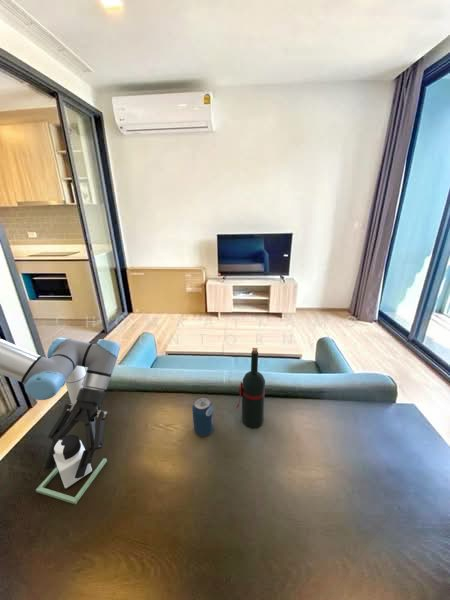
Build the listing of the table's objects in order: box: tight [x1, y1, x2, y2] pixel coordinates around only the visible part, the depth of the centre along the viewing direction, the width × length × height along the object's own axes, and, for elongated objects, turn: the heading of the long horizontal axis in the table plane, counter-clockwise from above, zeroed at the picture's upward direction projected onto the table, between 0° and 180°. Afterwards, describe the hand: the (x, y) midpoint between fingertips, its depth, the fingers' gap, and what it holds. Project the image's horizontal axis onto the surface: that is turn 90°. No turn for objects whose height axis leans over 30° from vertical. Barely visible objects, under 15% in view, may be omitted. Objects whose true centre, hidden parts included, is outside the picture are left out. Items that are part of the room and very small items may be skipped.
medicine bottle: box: [53, 433, 93, 489], centre depth 72 cm, size 7×7×12 cm
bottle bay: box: [35, 457, 108, 505], centre depth 73 cm, size 13×12×1 cm
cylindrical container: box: [65, 366, 87, 405], centre depth 96 cm, size 7×7×25 cm
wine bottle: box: [235, 347, 266, 430], centre depth 86 cm, size 8×10×30 cm
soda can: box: [191, 396, 214, 437], centre depth 86 cm, size 7×7×12 cm
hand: (63, 472), depth 70 cm, fingers closed on medicine bottle, 9 cm apart
